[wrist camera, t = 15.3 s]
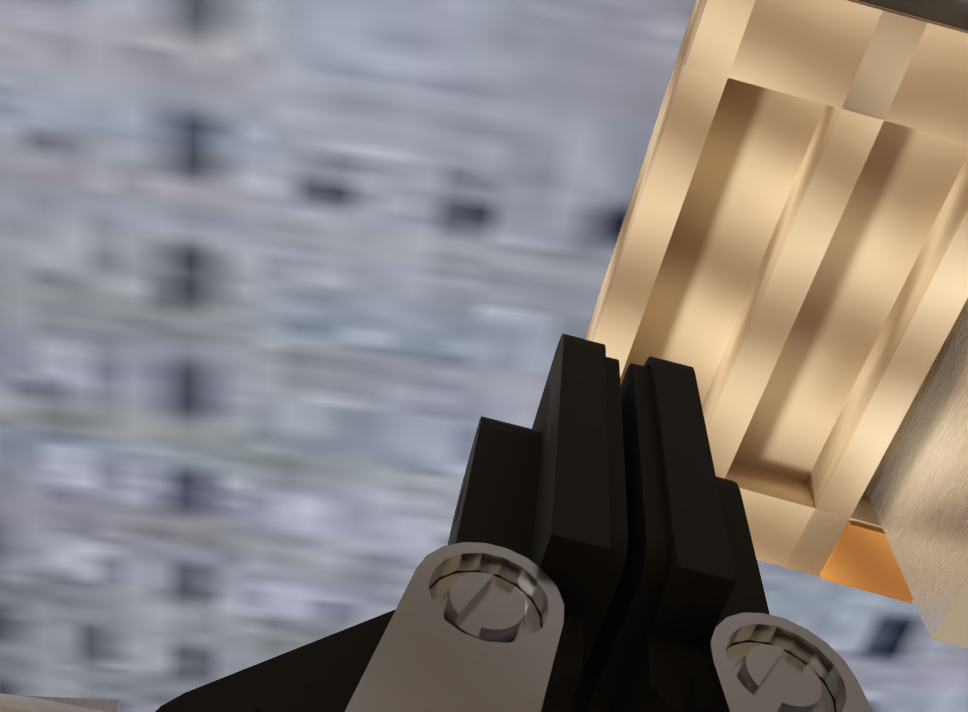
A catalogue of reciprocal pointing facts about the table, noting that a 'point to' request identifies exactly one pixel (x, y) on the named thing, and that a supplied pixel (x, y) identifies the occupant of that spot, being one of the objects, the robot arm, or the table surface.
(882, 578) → the rack
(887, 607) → the table surface
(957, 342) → the blanking panel
